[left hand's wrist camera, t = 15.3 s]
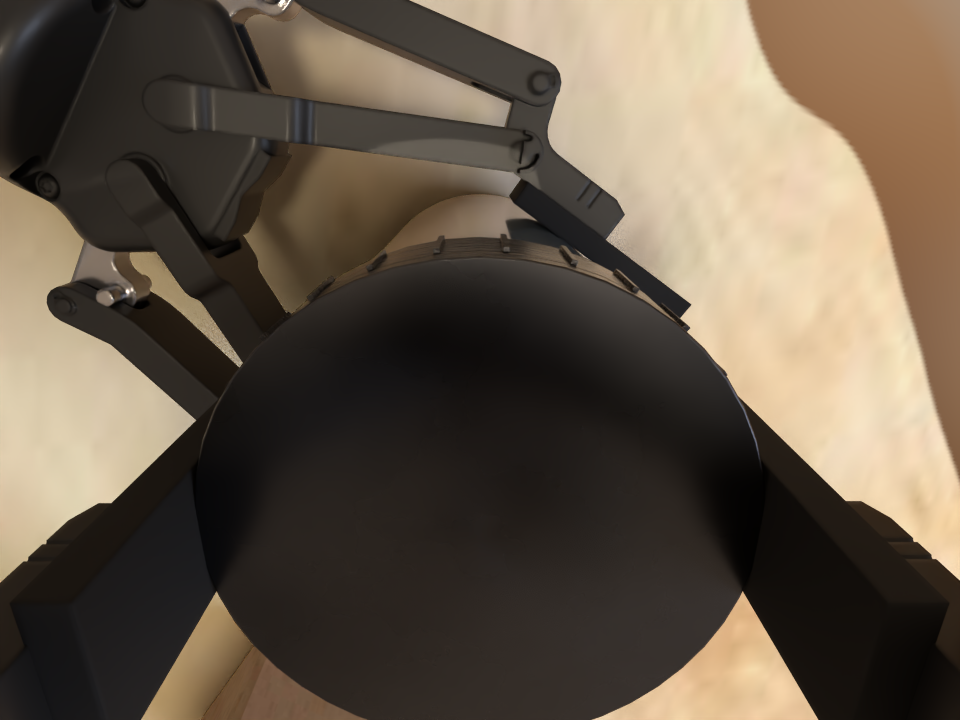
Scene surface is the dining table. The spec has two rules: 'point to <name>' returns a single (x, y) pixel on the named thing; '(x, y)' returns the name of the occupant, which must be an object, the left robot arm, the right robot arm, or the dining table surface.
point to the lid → (479, 488)
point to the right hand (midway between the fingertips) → (579, 412)
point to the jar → (475, 223)
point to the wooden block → (269, 696)
